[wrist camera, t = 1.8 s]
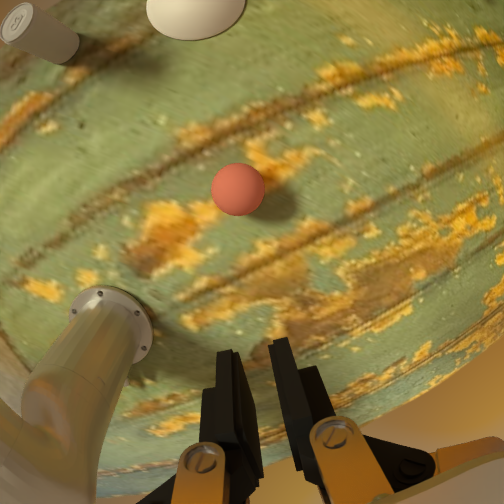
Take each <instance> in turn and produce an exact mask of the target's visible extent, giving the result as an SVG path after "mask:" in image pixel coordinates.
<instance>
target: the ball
mask: <svg viewBox="0 0 504 504" xmlns="http://www.w3.org/2000/svg"><path fill="white" fill-rule="evenodd" d="M211 191H212V197H213V200H214V202H215V204H216V205H217V206H218V207H219V209H221V210H222V211H223V212H225V213H227V214H229V215H234V216H242V215H246V214H249V213H251V212H253V211H254V210H255V209H256V208H257V207H258V206H259V205H260V204H261V202H262V200H263V197H264V193H265V186H264V182H263V179H262V177H261V175H260V174H259V173H258V171H257V170H255V169H254V168H253V167H251V166H249V165H246V164H242V163H234V164H230V165H227V166H225V167H224V168H222V169H221V170H220V171H219V172H218V173H217V174H216V176H215V177H214V179H213V182H212V189H211Z"/></svg>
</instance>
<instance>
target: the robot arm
mask: <svg viewBox="0 0 504 504" xmlns="http://www.w3.org/2000/svg"><path fill="white" fill-rule="evenodd" d="M137 310H138V311H137ZM152 341H153V327H152V323H151V320H150V318H149V316H148V314H147V312H146V311H145V309H144V308H143V307H142V305H141V304H140V303H139V302H138V301H137V300H136V299H135V298H134V297H132V296H131V295H129V294H128V293H126V292H125V291H122V290H120V289H118V288H115V287H111V286H103V285H98V286H92V287H89V288H87V289H85V290H83V291H82V292H81V293H80V294H79V295H78V296H77V297H76V298H75V299H74V301H73V302H72V304H71V307H70V310H69V324H68V325H67V327H66V328H65V329H64V331H63V332H62V333H61V334H60V336H59V337H58V338H57V339H56V341H55V342H54V343H53V345H52V346H51V347H50V349H49V350H48V351H47V352H46V354H45V355H44V356H43V358H42V359H41V360H40V362H39V363H38V365H37V366H36V367H35V369H34V370H33V371H32V373H31V374H30V375H29V377H28V378H27V380H26V382H25V385H24V387H23V391H22V397H21V415H22V418H21V417H20V416H19V415H18V414H16V413H15V412H14V411H13V410H12V409H11V408H10V407H9V406H8V405H7V404H6V403H5V402H4V401H3V400H2V399H1V398H0V504H96V486H97V470H98V463H99V458H100V453H101V449H102V445H103V442H104V439H105V436H106V432H107V430H108V427H109V424H110V421H111V418H112V416H113V413H114V410H115V407H116V404H117V402H118V399H119V396H120V394H121V391H122V388H123V386H124V387H125V386H128V385H129V384H130V381H129V378H128V373H129V370H130V368H131V365H133V364H135V363H137V362H139V361H141V360H142V359H143V358H144V357H145V356H146V355H147V353H148V352H149V350H150V347H151V345H152ZM273 343H274V344H272V345H268V348H269V353H270V358H271V362H272V367H273V372H274V377H275V381H276V386H277V391H278V396H279V400H280V405H281V410H282V415H283V419H284V424H285V428H286V432H287V436H288V439H289V443H290V447H291V451H292V455H293V459H294V462H295V467H296V471H301V470H303V472H304V476H305V480H306V481H309V482H311V483H313V484H315V485H317V486H318V490H319V493H320V495H321V498H322V501H323V504H504V441H503V440H502V439H500V438H498V437H494V436H492V437H485V438H482V439H478V440H474V441H470V442H467V443H462V444H458V445H454V446H449V447H444V448H440V449H437V450H436V452H433V453H427V452H425V451H422V450H419V449H415V448H410V447H407V446H402V445H398V444H395V443H391V442H387V441H383V440H380V439H376V438H373V437H369V436H366V435H362V433H361V431H360V429H359V428H358V426H357V425H356V423H355V422H354V421H353V420H351V419H349V418H347V417H343V416H336V414H335V412H334V409H333V407H332V404H331V402H330V399H329V396H328V394H327V391H326V389H325V386H324V384H323V381H322V379H321V376H320V374H319V371H318V369H317V367H316V365H315V366H311V367H307V368H303V369H299V370H298V369H297V366H296V363H295V360H294V357H293V354H292V350H291V347H290V344H289V341H288V338H287V337H284V338H280V339H276V340H273ZM261 478H264V474H263V465H262V458H261V450H260V442H259V433H258V425H257V417H256V409H255V404H254V400H253V397H252V394H251V391H250V388H249V385H248V381H247V378H246V375H245V372H244V369H243V365H242V362H241V359H240V356H239V353H238V352H235V353H233V351H232V349H230V350H225V351H220V352H217V357H216V387H213V388H207V389H203V392H202V404H201V418H200V433H199V443H196V444H193V445H191V446H189V447H188V448H187V449H185V450H184V452H183V453H182V454H181V456H180V459H179V462H178V468H177V473H176V474H175V475H174V476H172V477H171V478H170V479H168V480H167V481H166V482H165V483H163V484H162V485H161V486H159V487H158V488H157V489H155V490H154V491H153V492H151V493H150V494H149V495H147V496H146V497H145V498H143V499H142V500H140V501H139V502H138V503H136V504H250V500H249V496H250V495H251V494H252V493H253V492H254V491H255V490H256V489H255V487H259V479H261Z"/></svg>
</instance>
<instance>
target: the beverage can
mask: <svg viewBox="0 0 504 504" xmlns="http://www.w3.org/2000/svg"><path fill="white" fill-rule="evenodd" d="M0 38H1V39H2V41H4V42H5V43H6V44H8V45H11V46H13V47H16V48H18V49H21V50H23V51H26V52H28V53H31V54H33V55H35V56H38V57H40V58H42V59H45V60H47V61H49V62H52V63H54V64H62V63H64V62H66V61H68V60H69V59H70V58H71V57H72V56H73V55H74V54H75V53H76V51H77V49H78V47H79V42H80V41H79V37H78V35H77V34H76V33H75V32H74V31H73V30H71V29H70V28H68V27H67V26H65V25H64V24H63V23H61V22H60V21H58V20H57V19H55V18H54V17H52V16H51V15H49V14H48V13H46V12H45V11H43V10H42V9H40V8H39V7H37V6H36V5H34V4H30V3H22V4H19V5H17V6H16V7H14V8H13V9H12V10H11V11H10V12H9V13H8V14H7V16H6V17H5V19H4V20H3V22H2V25H1V28H0Z"/></svg>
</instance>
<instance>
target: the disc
mask: <svg viewBox="0 0 504 504" xmlns="http://www.w3.org/2000/svg"><path fill="white" fill-rule="evenodd" d="M244 5H245V0H147V15H148V18H149V20H150V22H151V24H152V25H153V26H154V27H155V28H156V29H157V30H158V31H159V32H161V33H162V34H164V35H166V36H168V37H171V38H174V39H179V40H199V39H204V38H208V37H211V36H214V35H216V34H219V33H221V32H222V31H224V30H226V29H227V28H229V27H230V26H231V25H232V24H233V23H234V22H235V21H236V20H237V19H238V18H239V16H240V15H241V13H242V11H243V9H244Z"/></svg>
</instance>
